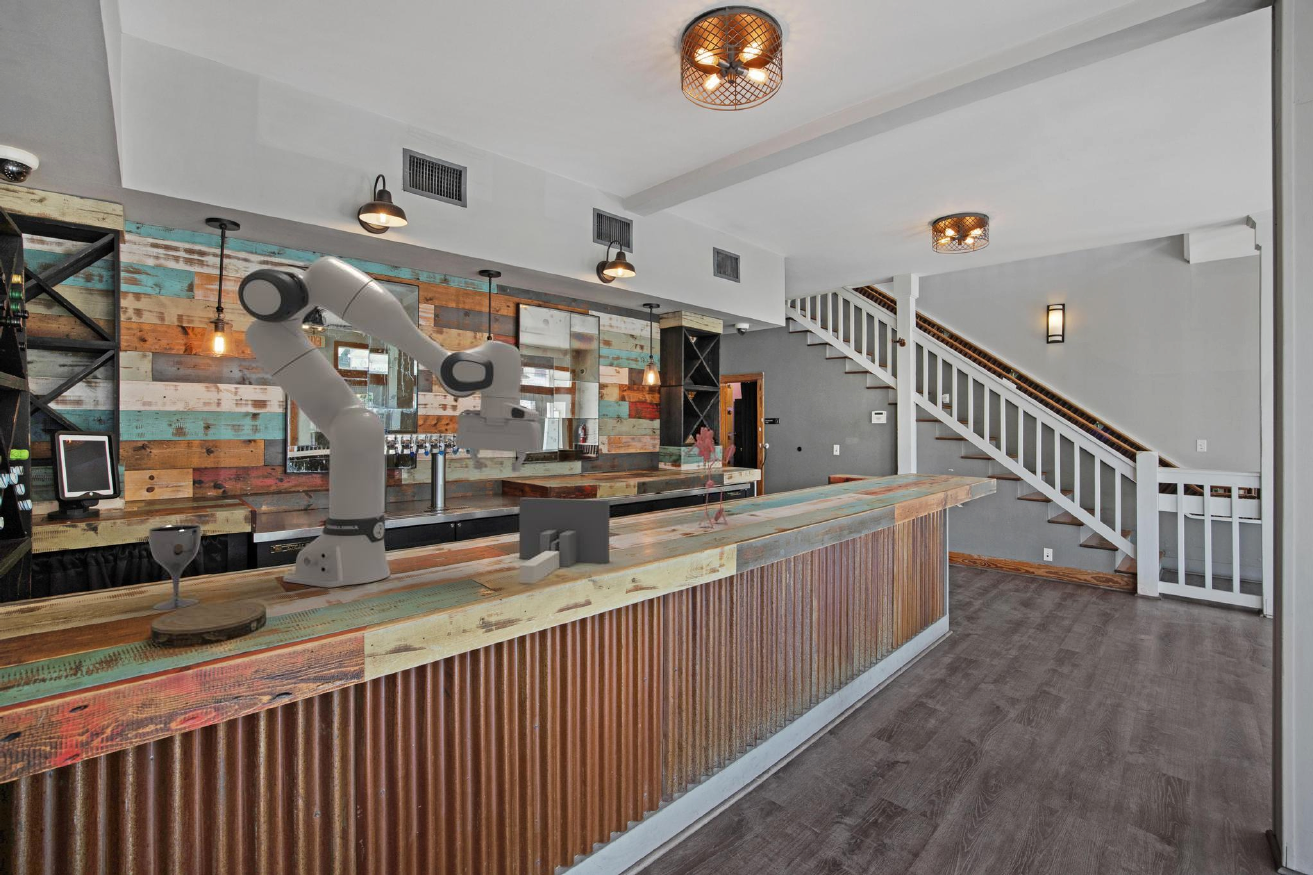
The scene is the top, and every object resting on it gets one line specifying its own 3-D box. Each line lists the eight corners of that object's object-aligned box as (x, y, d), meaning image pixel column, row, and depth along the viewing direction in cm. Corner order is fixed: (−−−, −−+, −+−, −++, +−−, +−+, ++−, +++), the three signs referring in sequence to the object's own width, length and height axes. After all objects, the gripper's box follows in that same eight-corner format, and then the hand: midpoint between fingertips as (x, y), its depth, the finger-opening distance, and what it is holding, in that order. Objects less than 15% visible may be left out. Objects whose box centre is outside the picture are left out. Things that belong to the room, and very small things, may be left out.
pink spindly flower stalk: (741, 522, 226) (740, 426, 225) (702, 531, 205) (700, 426, 205) (706, 519, 235) (705, 427, 235) (665, 527, 215) (664, 427, 215)
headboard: (509, 563, 157) (509, 501, 156) (522, 557, 165) (522, 497, 164) (600, 568, 152) (600, 504, 152) (609, 561, 160) (609, 500, 160)
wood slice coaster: (124, 648, 97) (124, 629, 97) (199, 617, 113) (199, 601, 113) (225, 649, 97) (224, 630, 97) (285, 617, 113) (285, 601, 113)
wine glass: (159, 613, 115) (159, 532, 114) (142, 606, 119) (141, 528, 118) (208, 602, 121) (208, 526, 121) (190, 596, 126) (190, 523, 125)
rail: (519, 582, 138) (519, 556, 138) (554, 561, 160) (554, 538, 160) (534, 583, 137) (534, 557, 137) (567, 562, 159) (567, 539, 159)
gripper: (452, 408, 142) (448, 468, 142) (535, 412, 139) (532, 473, 139) (465, 409, 148) (462, 467, 149) (545, 413, 145) (542, 472, 145)
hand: (496, 470), depth 143 cm, fingers open, 8 cm apart
